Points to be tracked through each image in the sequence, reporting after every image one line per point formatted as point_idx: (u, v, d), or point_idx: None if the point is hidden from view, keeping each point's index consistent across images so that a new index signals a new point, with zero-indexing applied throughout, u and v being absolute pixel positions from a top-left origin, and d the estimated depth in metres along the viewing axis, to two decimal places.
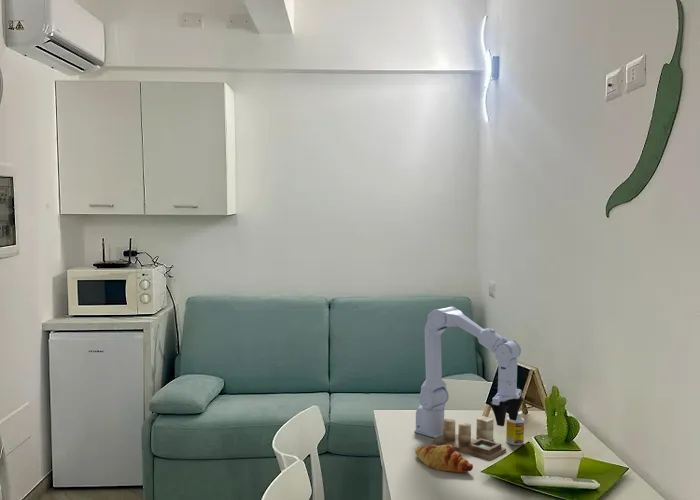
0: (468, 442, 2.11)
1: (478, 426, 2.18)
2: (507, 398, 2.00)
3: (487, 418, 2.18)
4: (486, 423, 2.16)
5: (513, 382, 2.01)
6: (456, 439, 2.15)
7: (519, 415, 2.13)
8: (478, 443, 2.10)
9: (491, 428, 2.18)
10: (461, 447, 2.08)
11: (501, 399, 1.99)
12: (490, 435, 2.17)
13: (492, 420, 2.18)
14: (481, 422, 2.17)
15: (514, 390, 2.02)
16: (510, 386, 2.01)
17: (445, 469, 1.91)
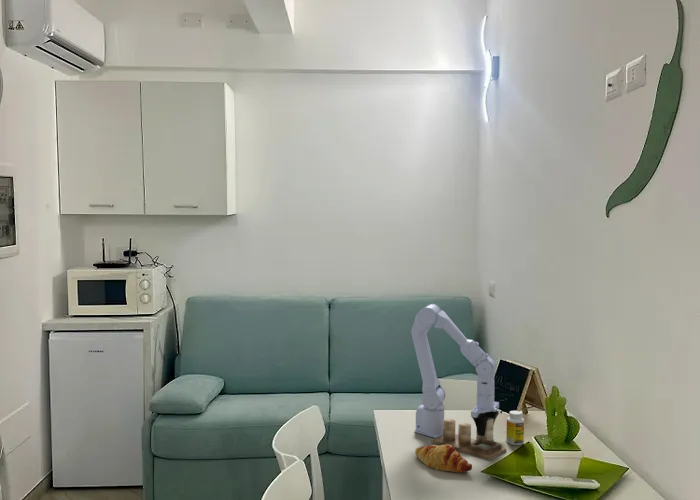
0: (468, 442, 2.11)
1: None
2: (485, 411, 2.14)
3: None
4: None
5: (490, 396, 2.15)
6: (456, 439, 2.15)
7: (519, 415, 2.13)
8: (478, 443, 2.10)
9: (491, 428, 2.18)
10: (461, 447, 2.08)
11: (479, 412, 2.13)
12: (490, 435, 2.17)
13: (492, 420, 2.18)
14: None
15: (491, 403, 2.16)
16: (488, 400, 2.15)
17: (444, 469, 1.91)
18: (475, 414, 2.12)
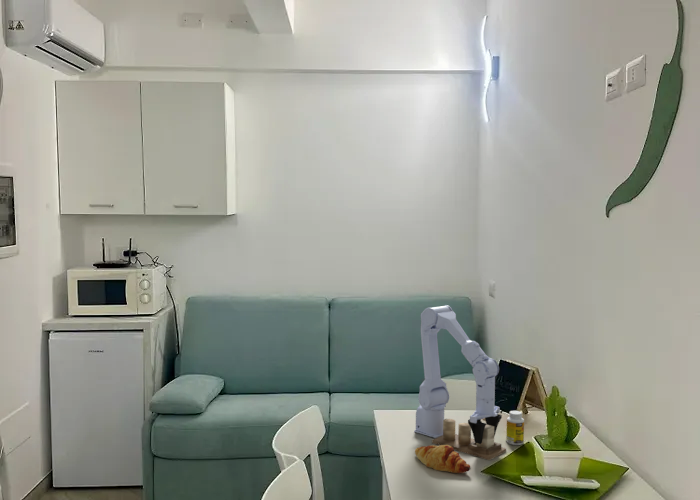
0: (468, 442, 2.11)
1: None
2: (485, 416, 2.03)
3: (488, 426, 2.06)
4: (486, 431, 2.04)
5: (491, 400, 2.04)
6: (456, 439, 2.15)
7: (519, 415, 2.13)
8: None
9: (492, 436, 2.06)
10: (461, 447, 2.08)
11: (478, 417, 2.02)
12: (491, 443, 2.06)
13: (493, 428, 2.06)
14: None
15: (492, 408, 2.04)
16: (488, 404, 2.03)
17: (443, 469, 1.91)
18: (474, 419, 2.01)
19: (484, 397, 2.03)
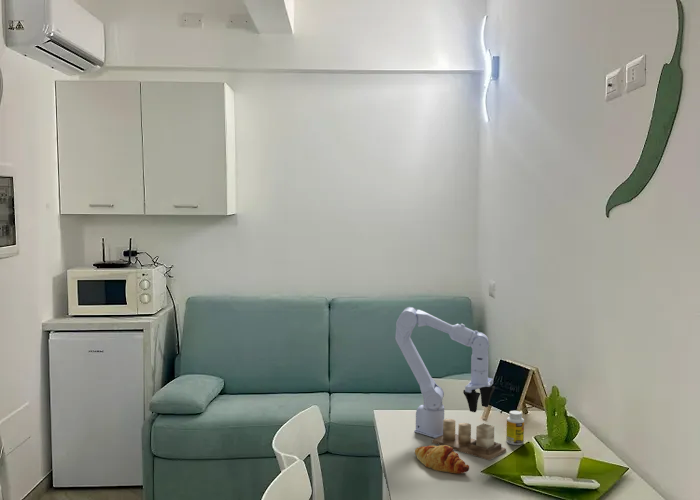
0: (468, 442, 2.11)
1: (478, 434, 2.06)
2: (479, 386, 2.16)
3: (488, 426, 2.06)
4: (486, 431, 2.04)
5: (484, 371, 2.17)
6: (456, 439, 2.15)
7: (519, 415, 2.13)
8: None
9: (492, 436, 2.06)
10: (461, 447, 2.08)
11: (473, 387, 2.15)
12: (491, 443, 2.06)
13: (493, 428, 2.06)
14: (481, 430, 2.05)
15: (485, 379, 2.18)
16: (482, 375, 2.17)
17: (441, 469, 1.91)
18: (469, 389, 2.15)
19: (484, 368, 2.17)
